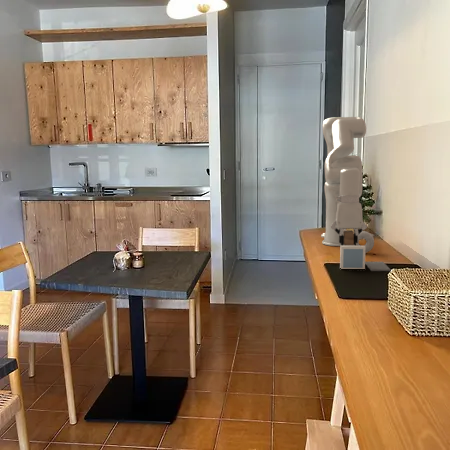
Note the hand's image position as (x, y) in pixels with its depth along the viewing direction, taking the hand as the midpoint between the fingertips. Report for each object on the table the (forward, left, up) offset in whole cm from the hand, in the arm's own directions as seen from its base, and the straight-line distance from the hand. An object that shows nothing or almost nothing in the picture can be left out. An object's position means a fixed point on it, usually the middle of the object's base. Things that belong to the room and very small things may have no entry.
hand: (348, 244), depth 183 cm
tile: (+8, -6, -8) cm, 13 cm away
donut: (-8, +17, -8) cm, 20 cm away
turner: (+2, -2, -1) cm, 3 cm away
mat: (+12, +3, -7) cm, 14 cm away
